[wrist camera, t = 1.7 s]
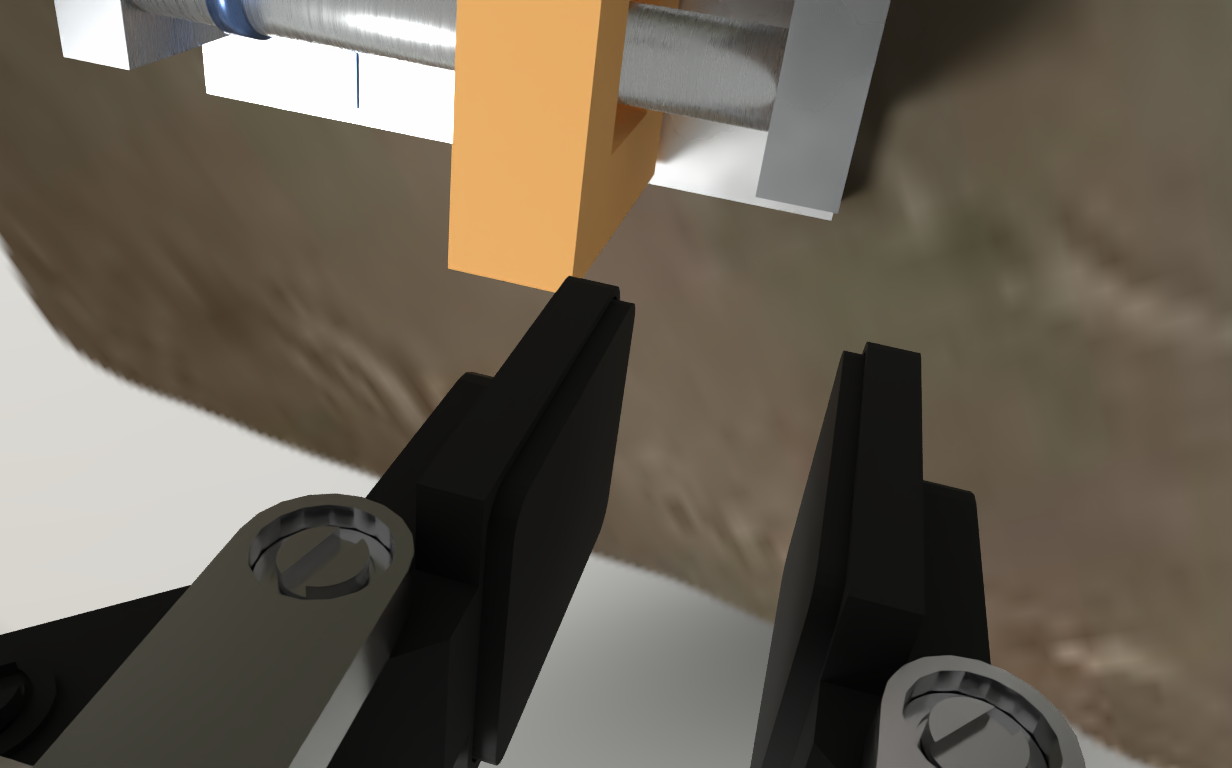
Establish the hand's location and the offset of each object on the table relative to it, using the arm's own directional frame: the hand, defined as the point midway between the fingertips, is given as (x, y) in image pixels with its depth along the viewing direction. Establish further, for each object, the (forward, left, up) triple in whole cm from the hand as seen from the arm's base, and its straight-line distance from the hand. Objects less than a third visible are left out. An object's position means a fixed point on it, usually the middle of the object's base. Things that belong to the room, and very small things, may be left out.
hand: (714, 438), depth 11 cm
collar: (+6, 0, -20) cm, 21 cm away
